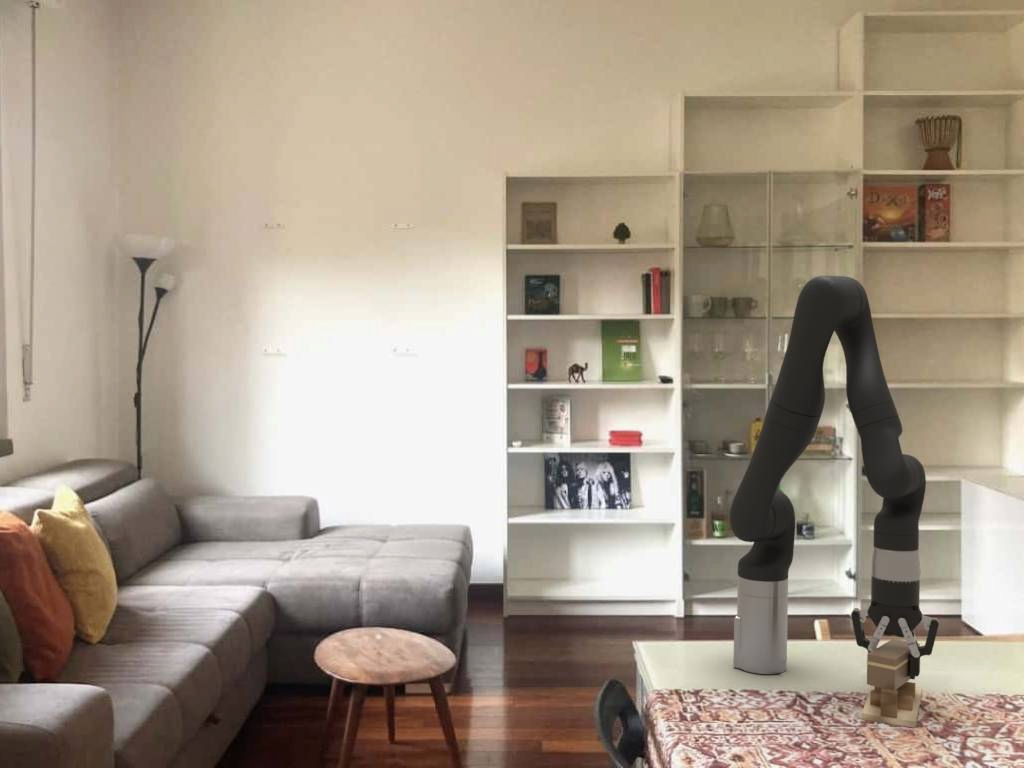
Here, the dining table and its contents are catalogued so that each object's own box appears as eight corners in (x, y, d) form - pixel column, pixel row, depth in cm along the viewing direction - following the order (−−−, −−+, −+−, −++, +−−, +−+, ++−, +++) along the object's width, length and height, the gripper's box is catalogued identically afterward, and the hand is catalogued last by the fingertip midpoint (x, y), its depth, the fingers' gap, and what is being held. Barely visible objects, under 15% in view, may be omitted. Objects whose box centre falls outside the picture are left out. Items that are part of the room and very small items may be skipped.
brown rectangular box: (866, 684, 159) (866, 654, 159) (892, 667, 169) (892, 638, 168) (894, 690, 156) (895, 659, 156) (919, 672, 166) (920, 643, 165)
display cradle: (861, 719, 156) (862, 688, 156) (872, 685, 173) (873, 657, 172) (915, 727, 153) (916, 696, 153) (921, 692, 169) (922, 664, 169)
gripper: (847, 574, 162) (845, 675, 162) (941, 583, 156) (939, 688, 156) (852, 566, 169) (851, 663, 169) (943, 574, 162) (941, 675, 163)
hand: (893, 674), depth 162 cm, fingers closed on brown rectangular box, 5 cm apart
